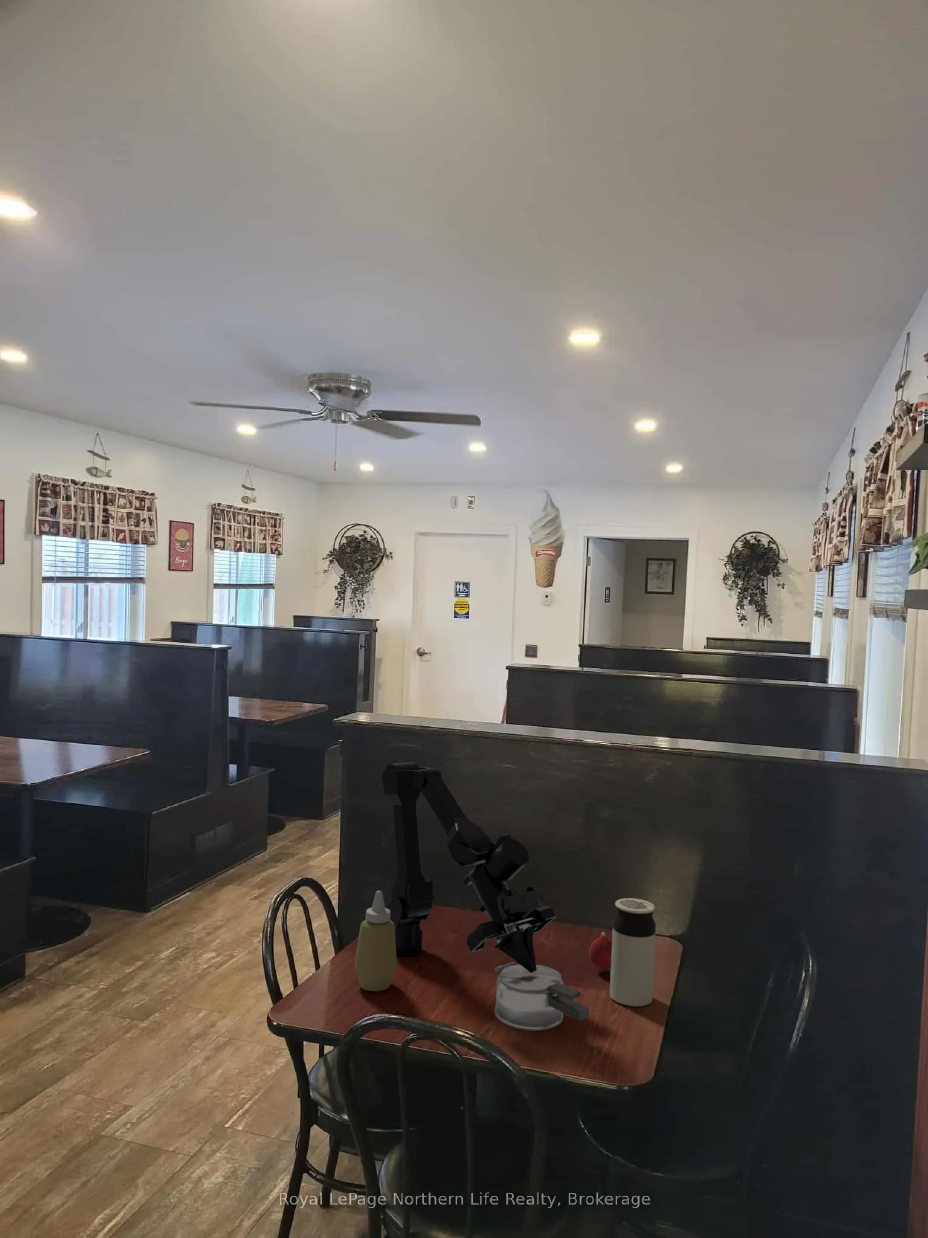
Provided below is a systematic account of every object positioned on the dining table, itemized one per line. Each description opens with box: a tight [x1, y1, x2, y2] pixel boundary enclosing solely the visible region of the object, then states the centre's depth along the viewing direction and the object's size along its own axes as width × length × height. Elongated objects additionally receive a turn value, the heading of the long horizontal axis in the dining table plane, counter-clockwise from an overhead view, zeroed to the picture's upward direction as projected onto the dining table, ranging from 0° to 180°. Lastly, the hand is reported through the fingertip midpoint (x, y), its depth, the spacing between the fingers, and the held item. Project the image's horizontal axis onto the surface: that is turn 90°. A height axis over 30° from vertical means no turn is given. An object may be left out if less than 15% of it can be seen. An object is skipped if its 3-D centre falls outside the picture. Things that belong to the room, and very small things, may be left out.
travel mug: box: [609, 897, 657, 1008], centre depth 162 cm, size 8×8×18 cm
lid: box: [493, 961, 582, 1001], centre depth 152 cm, size 18×11×1 cm, turn 42°
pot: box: [494, 973, 590, 1032], centre depth 151 cm, size 19×12×6 cm, turn 42°
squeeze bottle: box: [354, 890, 398, 992], centre depth 163 cm, size 8×8×18 cm
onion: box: [588, 931, 612, 973], centre depth 174 cm, size 6×6×8 cm
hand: (534, 971), depth 153 cm, fingers closed
